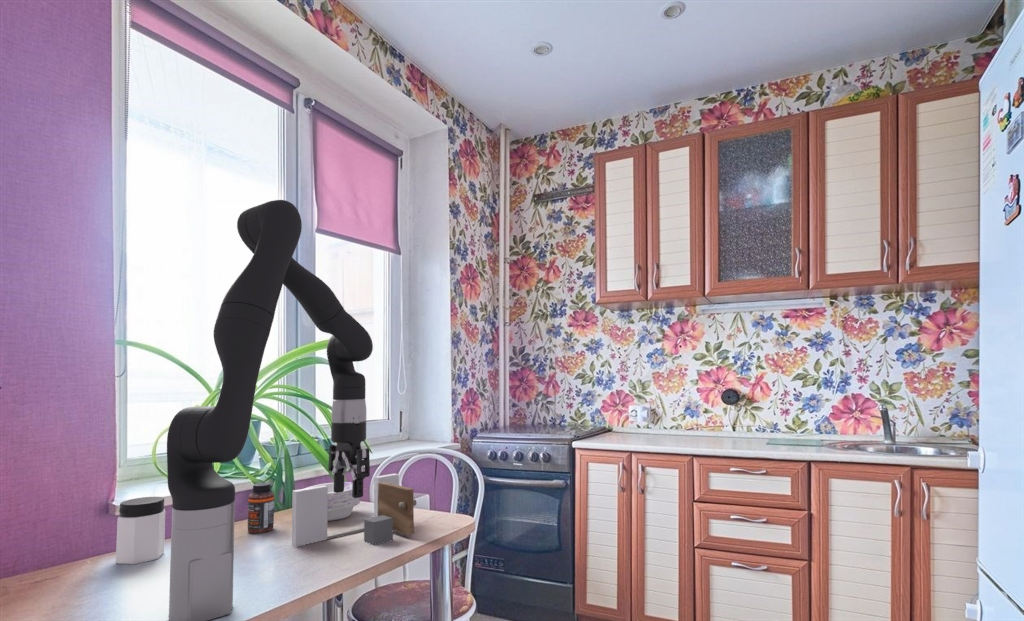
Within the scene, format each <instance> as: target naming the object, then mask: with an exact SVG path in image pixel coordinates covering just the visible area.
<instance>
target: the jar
mask: <svg viewBox="0 0 1024 621" xmlns="http://www.w3.org/2000/svg"><path fill="white" fill-rule="evenodd" d="M118 509H119V510H118V512H119V516H118V517H117V520H116V521H117V522H116V544H115V546H116V547H115V548H116V549H115V563H116V565H117V564H119V565H120V564H121V565H137V564H138V565H139V564H142V563H145V562H146V563H148V562H150V561H154V560H155V561H156V560H159V558H160V557H161V556H162V555H163V554H164V552H165V535H166V534H165V533H166V532H165V531H166V509H165V497H163V496H143V497H136V498H131V499H126V500H124V501H122V502H120V503H119V508H118Z"/></svg>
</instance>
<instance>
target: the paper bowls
mask: <svg viewBox="0 0 1024 621" xmlns="http://www.w3.org/2000/svg"><path fill="white" fill-rule="evenodd" d="M323 485H324V486H328V511H327V522H331V521H332V522H333V521H338V520H342V519H345V518H347V517H349V516H350V515H351V514H352V512H353V510H354V507H355V506H358V505H359V504H360V503H361V497H359V498H353V497H352V482H351V481H344V491H343V492H339V493H336V492H334V482H328V483H327V482H326V483H320V484H316V485H311V486H306V487H305V488H311V487H317V486H323ZM305 488H303V489H305Z"/></svg>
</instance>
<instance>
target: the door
mask: <svg viewBox="0 0 1024 621" xmlns="http://www.w3.org/2000/svg"><path fill="white" fill-rule="evenodd" d="M417 503H418V502H417V500H416V499H414V488H411V487H407V486H402V485H400V484H399V485H394V484H390V483H386V482H378V516H381V515H384V516H388V517H391V518H393V531H395V532H399V533H402V534H405V535H411V534H414V532H415V531H414V528H415V527H414V526H415V524H414V520H415V519H414V514H415V512H414V511H415V510H414V507H415V506H417Z"/></svg>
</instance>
